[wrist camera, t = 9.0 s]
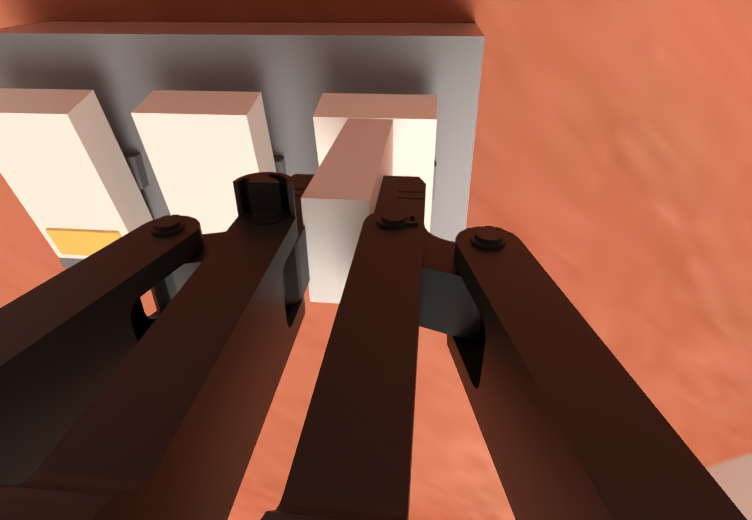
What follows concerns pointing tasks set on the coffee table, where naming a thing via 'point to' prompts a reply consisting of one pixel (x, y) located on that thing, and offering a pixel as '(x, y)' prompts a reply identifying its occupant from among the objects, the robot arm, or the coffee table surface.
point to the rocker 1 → (68, 169)
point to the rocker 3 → (409, 130)
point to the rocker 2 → (204, 149)
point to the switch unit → (264, 82)
